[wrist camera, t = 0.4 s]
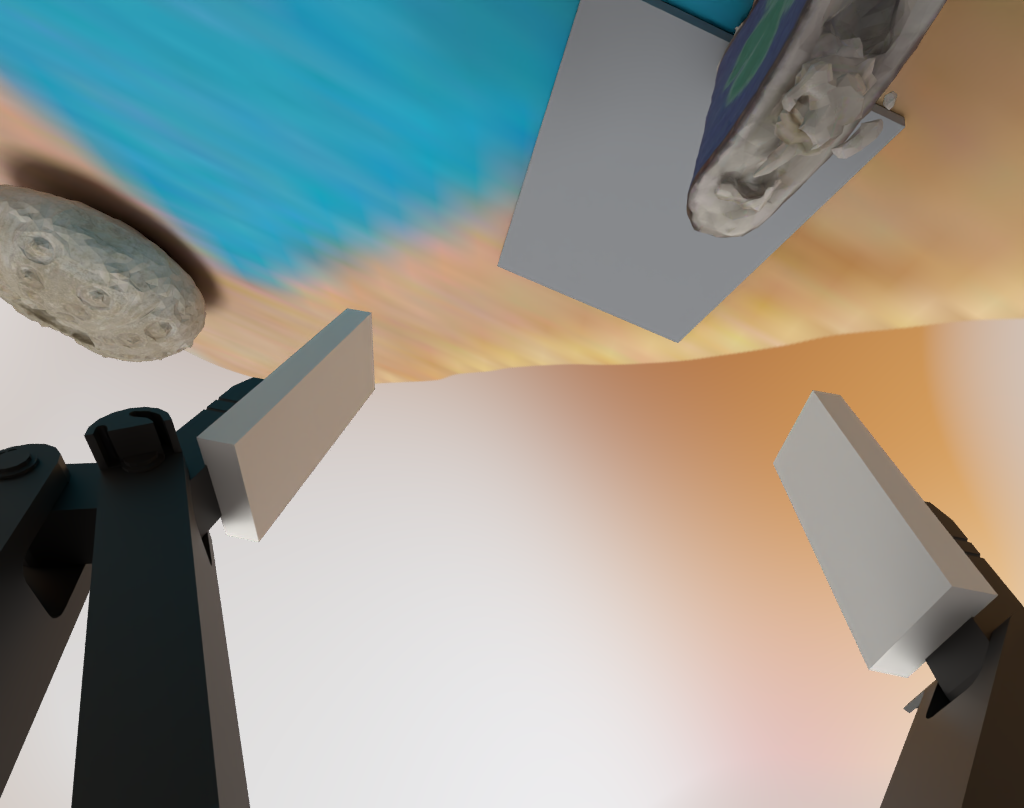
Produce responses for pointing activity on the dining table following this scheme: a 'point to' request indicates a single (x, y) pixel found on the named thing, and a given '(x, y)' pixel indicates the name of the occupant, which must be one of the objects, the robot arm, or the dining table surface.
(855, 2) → the flask
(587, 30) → the mat
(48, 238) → the cratered grey rock
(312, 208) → the dining table surface
